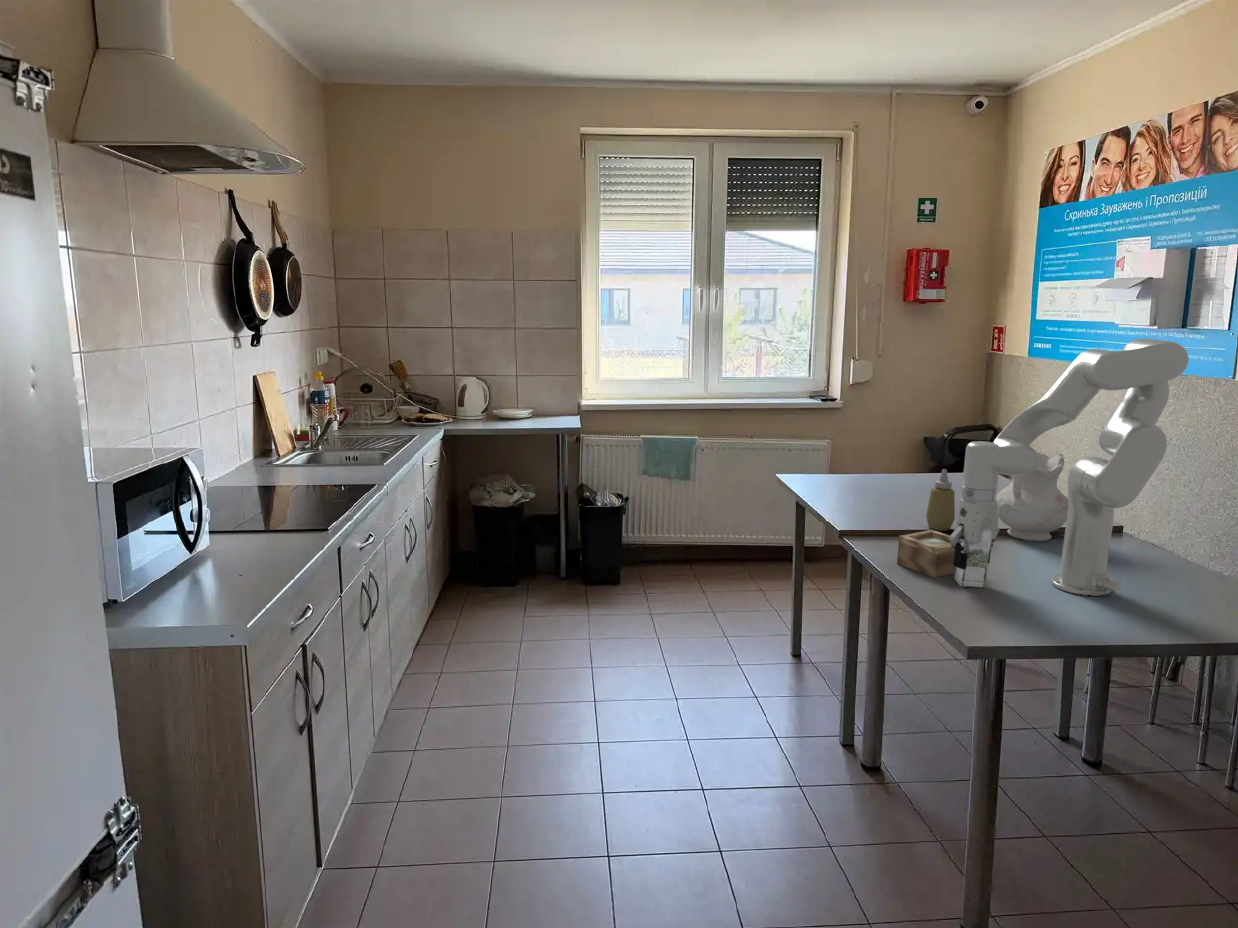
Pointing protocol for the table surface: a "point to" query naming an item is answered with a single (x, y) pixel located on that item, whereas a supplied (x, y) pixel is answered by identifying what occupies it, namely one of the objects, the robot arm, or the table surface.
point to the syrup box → (975, 563)
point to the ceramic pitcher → (1034, 502)
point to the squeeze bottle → (941, 504)
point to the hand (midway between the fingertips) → (971, 564)
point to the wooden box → (927, 553)
